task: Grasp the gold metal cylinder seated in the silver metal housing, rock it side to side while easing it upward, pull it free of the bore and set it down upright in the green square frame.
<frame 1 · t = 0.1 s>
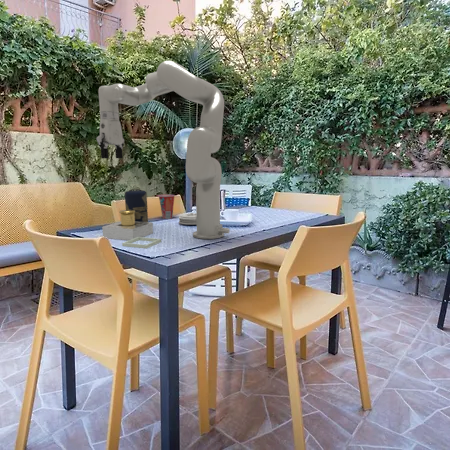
hand: (112, 158, 153), 31 cm above the table, fingers open, 9 cm apart
cup: (166, 218, 185), on the table
green square frame: (142, 245, 129), on the table
gold metal cylinder: (128, 235, 143), resting on housing
housing: (128, 236, 143), on the table
canister: (137, 228, 158), on the table
lid: (192, 224, 170), on the table
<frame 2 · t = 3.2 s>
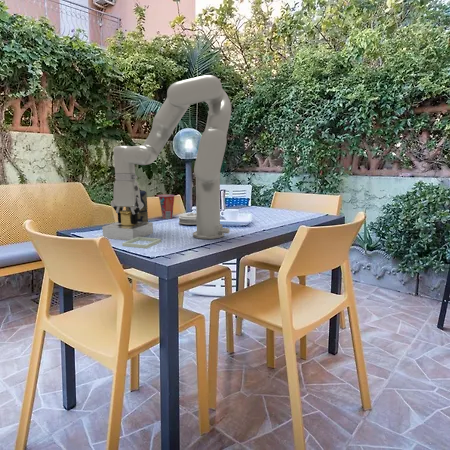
hand: (128, 222, 141), 6 cm above the table, fingers closed on gold metal cylinder, 5 cm apart
gold metal cylinder: (128, 235, 143), resting on housing, touching gripper
everything else where it was.
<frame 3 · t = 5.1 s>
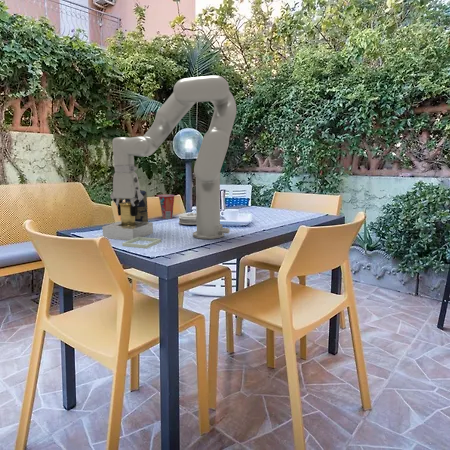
hand: (127, 214, 141), 9 cm above the table, fingers closed on gold metal cylinder, 5 cm apart
gold metal cylinder: (128, 227, 142), point 4 cm above the table, touching gripper
everything else where it was.
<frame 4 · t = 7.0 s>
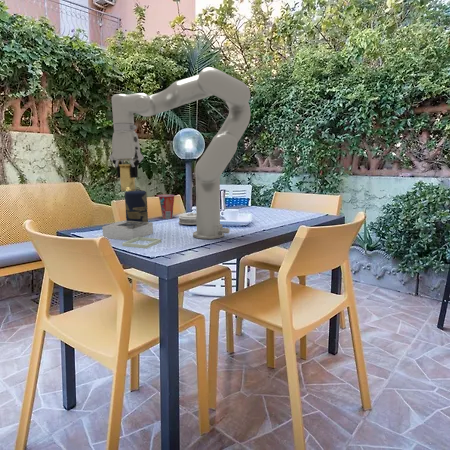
hand: (127, 176, 136), 24 cm above the table, fingers closed on gold metal cylinder, 5 cm apart
gold metal cylinder: (128, 190, 137), point 19 cm above the table, touching gripper
everything else where it was.
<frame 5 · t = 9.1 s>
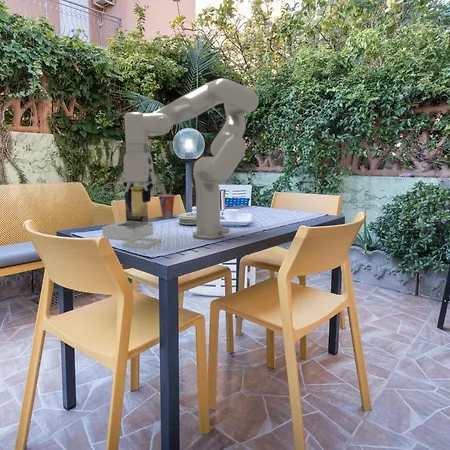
hand: (139, 200, 126), 16 cm above the table, fingers closed on gold metal cylinder, 5 cm apart
gold metal cylinder: (139, 215, 127), point 11 cm above the table, touching gripper
everything else where it was.
when the fingers open (7 cm above the table, at t = 11.0 s): gold metal cylinder drops 1 cm, resting on green square frame.
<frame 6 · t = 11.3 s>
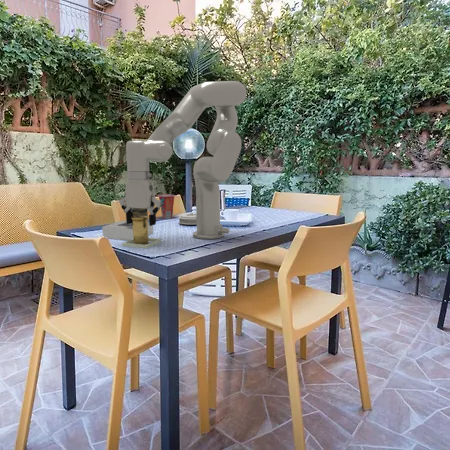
hand: (141, 224, 127), 8 cm above the table, fingers open, 9 cm apart
gold metal cylinder: (141, 243, 129), resting on green square frame
everything else where it was.
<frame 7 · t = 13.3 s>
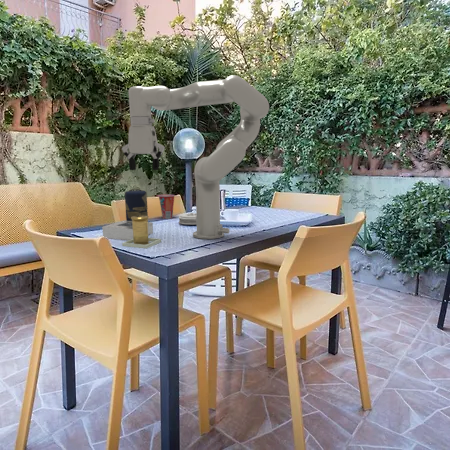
hand: (144, 169, 132), 27 cm above the table, fingers open, 9 cm apart
nothing on the table moved.
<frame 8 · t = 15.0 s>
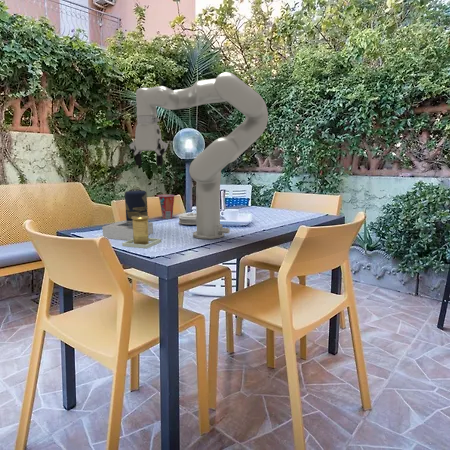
hand: (149, 165, 142), 28 cm above the table, fingers open, 9 cm apart
nothing on the table moved.
at the end: gold metal cylinder inside the target area on the green square frame (0.5 cm from its centre), point 0.5 cm above the green square frame's base; gold metal cylinder tilted 2°; the gripper is holding nothing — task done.
